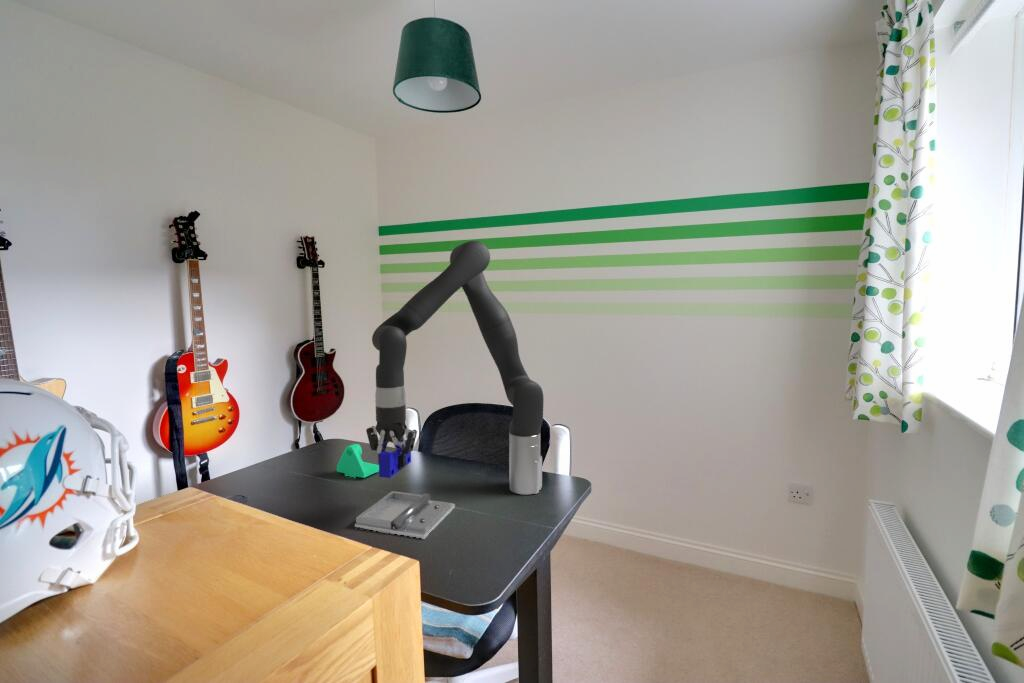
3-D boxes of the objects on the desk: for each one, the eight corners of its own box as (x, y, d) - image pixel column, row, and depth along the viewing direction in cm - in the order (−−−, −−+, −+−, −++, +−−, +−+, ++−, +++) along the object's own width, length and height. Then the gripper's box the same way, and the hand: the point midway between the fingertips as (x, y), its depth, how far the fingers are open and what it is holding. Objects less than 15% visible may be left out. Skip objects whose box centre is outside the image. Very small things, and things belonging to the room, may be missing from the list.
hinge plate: (454, 507, 129) (454, 495, 129) (424, 539, 112) (423, 525, 112) (393, 498, 135) (393, 487, 135) (355, 528, 118) (354, 515, 118)
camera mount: (381, 473, 155) (380, 442, 154) (363, 481, 149) (362, 449, 148) (354, 467, 161) (353, 437, 160) (336, 474, 154) (335, 443, 153)
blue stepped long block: (395, 460, 131) (395, 439, 130) (410, 461, 130) (410, 440, 129) (373, 476, 119) (373, 453, 118) (390, 478, 118) (389, 454, 117)
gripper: (422, 401, 124) (423, 465, 125) (374, 398, 128) (376, 460, 129) (408, 408, 117) (409, 475, 118) (357, 404, 121) (360, 469, 122)
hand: (392, 467), depth 124 cm, fingers closed on blue stepped long block, 4 cm apart
